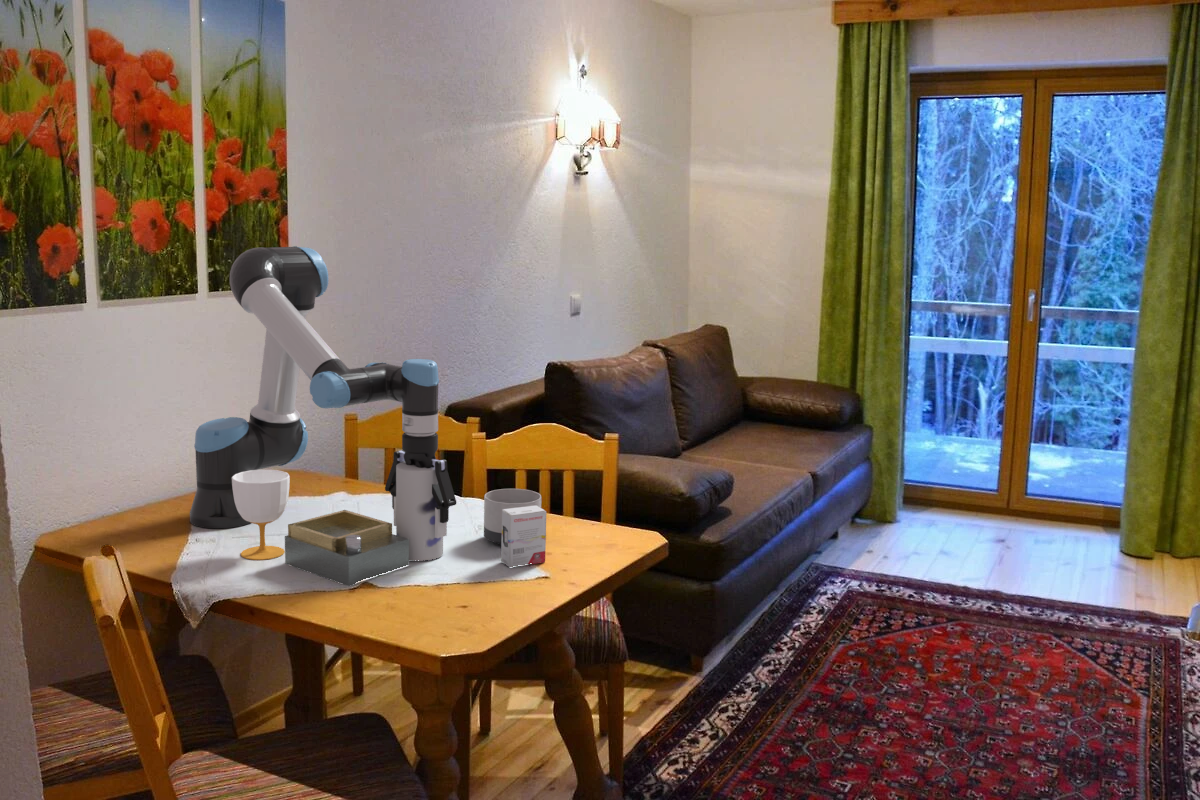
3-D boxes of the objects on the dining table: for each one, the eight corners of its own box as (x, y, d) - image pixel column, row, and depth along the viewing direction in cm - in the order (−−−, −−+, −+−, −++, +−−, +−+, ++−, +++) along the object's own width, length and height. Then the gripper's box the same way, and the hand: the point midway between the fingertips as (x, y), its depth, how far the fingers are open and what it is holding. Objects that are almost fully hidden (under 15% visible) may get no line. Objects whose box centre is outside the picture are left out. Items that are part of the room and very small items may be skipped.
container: (433, 563, 232) (434, 471, 228) (389, 559, 234) (388, 468, 230) (449, 549, 241) (450, 461, 238) (406, 545, 243) (406, 457, 240)
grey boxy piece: (285, 563, 229) (284, 522, 227) (345, 546, 241) (345, 506, 240) (348, 586, 217) (348, 542, 215) (408, 566, 230) (408, 525, 228)
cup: (264, 541, 243) (262, 466, 240) (302, 551, 237) (301, 474, 234) (221, 555, 233) (219, 477, 230) (260, 566, 227) (258, 486, 224)
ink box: (536, 556, 239) (537, 504, 237) (546, 563, 234) (547, 510, 232) (499, 561, 234) (500, 508, 232) (509, 569, 230) (510, 514, 228)
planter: (551, 538, 252) (552, 494, 250) (519, 553, 241) (520, 507, 239) (505, 528, 258) (506, 485, 256) (472, 542, 247) (472, 497, 245)
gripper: (368, 426, 237) (368, 522, 241) (448, 444, 223) (447, 546, 226) (394, 421, 243) (394, 515, 247) (474, 438, 228) (472, 538, 232)
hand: (419, 530), depth 237 cm, fingers open, 12 cm apart
